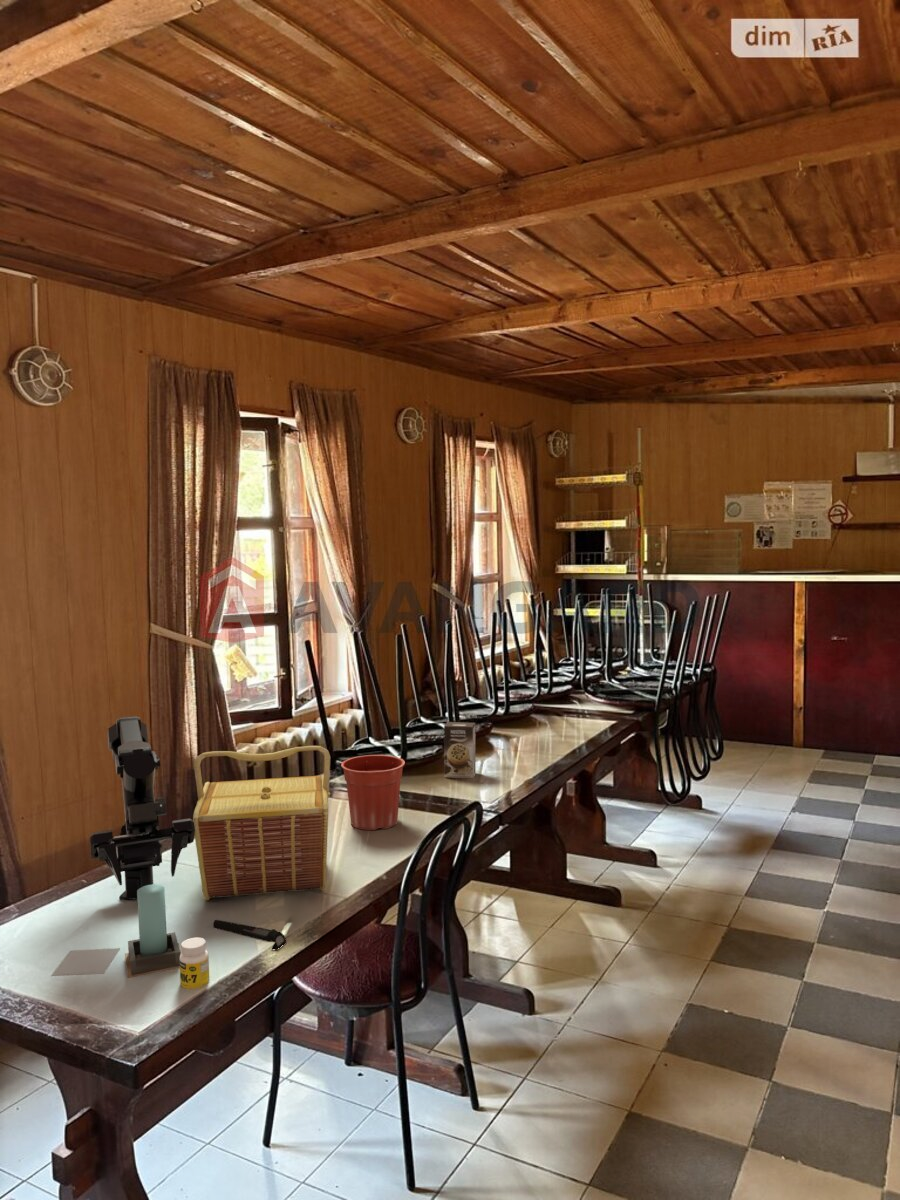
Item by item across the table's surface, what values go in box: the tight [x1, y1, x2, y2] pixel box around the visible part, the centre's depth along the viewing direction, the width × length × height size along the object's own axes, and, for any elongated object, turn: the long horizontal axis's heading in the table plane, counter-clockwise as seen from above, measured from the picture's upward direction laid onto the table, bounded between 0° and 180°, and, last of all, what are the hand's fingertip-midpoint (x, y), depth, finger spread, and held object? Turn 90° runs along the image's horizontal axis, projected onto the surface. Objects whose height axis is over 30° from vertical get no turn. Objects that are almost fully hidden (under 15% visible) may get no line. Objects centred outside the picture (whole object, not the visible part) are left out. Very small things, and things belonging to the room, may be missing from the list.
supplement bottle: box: [179, 936, 210, 990], centre depth 151 cm, size 5×5×8 cm
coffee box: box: [443, 721, 477, 779], centre depth 273 cm, size 9×6×16 cm
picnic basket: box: [192, 745, 331, 901], centre depth 194 cm, size 29×26×30 cm
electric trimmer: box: [212, 919, 287, 950], centre depth 169 cm, size 4×16×3 cm, turn 65°
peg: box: [136, 883, 168, 958], centre depth 158 cm, size 5×5×13 cm
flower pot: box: [340, 754, 406, 831], centre depth 231 cm, size 16×16×16 cm
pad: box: [51, 947, 121, 977], centre depth 158 cm, size 9×9×2 cm
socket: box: [124, 932, 181, 979], centre depth 158 cm, size 9×9×4 cm
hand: (147, 880), depth 164 cm, fingers open, 9 cm apart
